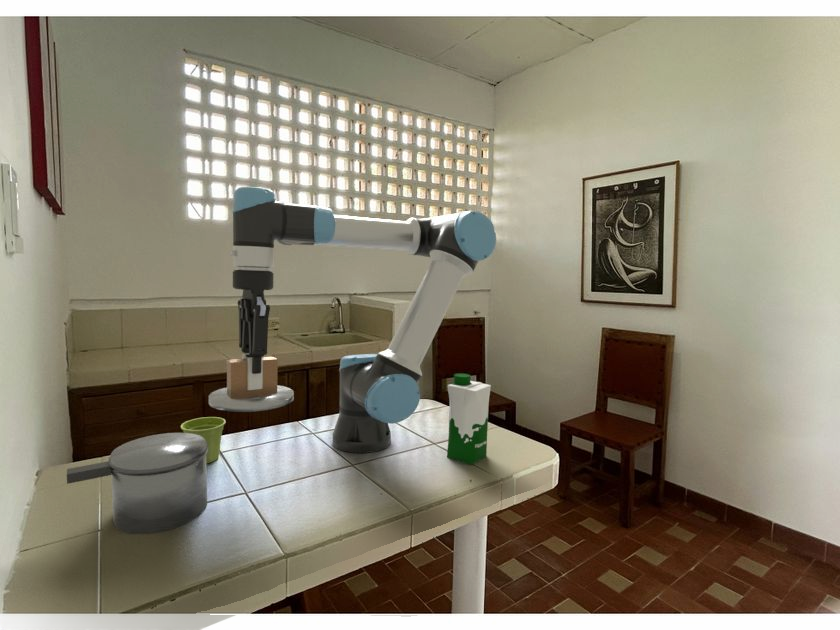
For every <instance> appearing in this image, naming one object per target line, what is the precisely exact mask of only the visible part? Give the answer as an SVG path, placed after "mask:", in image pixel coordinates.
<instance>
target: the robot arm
mask: <svg viewBox="0 0 840 630" xmlns="http://www.w3.org/2000/svg"><path fill="white" fill-rule="evenodd" d="M275 195H276V194H275V193H274V191H273V190H271V189H269V188H263V187H257V186H240V187H238V188H237V189H235V190H234V194H233V209H232V241H233V242H232V244H233V245H232V250H231V251H230V252H229V253H230V256H232V265H233V267H236V269H233V271H232V288H234V289H236V290H241V291H242V295H241V296H242V297H241V298H240V299H238V300H237V306H238V307H237V309H238V342H239V343H238V344H239V345H238V347H239V349H241V353H242V357H241V359H246V358H248V370H247V390H256V389H262V381H263V357H265V356H267V355H268V338H269V337H268V336H269V334H268V333H269V316H270V311H271V306H270V305H269V304H267V300H266V299H265V291H271V290H273V289H274V272H273V271H272V269H273V268H275V244H274V243H275V241H276V242H277V243H279V244H280V245H283V246H293V245H297V246H318V247H333V248H334V247H335V248H336V247H337V248H354V249H368V250H369V249H373V250H385V251H388V250H390V251H404V252H405V253H406V254H407V255H408V256H419V257H425V258H426V257H427V258H430V260H431V263H430V265H429V266H428V268H427V270H426V272H425V275H424V276H423V278H422V280H421V282H420V284H419V286H418V288H417V290H416V292H415V294H414V296H413V297H412V299H411V302H410V304H409V306H408V308H407V309H406V312H405V314H404V316H403V317H402V320H401V321H400V323H399V325H398V328H397V329H396V331H395V333H394V335H393V337H392V339H391V341H390V344H389V345H388V347H387V348H386V350H385V349H384V350H383V351H382V350H381V351H379V352H378V353H366V354H364V353H363V354H362V353H361V354H350V355H345V356H343V357H342V358H341V359H340V362H339V369H338V371H339V413H338V417H337V420H336V424H335V426H334V429H333V432H332V439H331V440H332V442H331V443H332V446H333V447H335V448H336V449H337V450H340V451H343V452H348V453H353V454H354V453H355V454H356V453H358V454H360V453H361V454H362V453H373V452H377V451H381V450H384V449H385V448H387V447H389V445H390V444H391V442H392V432H391V430H390V426H389V425H390V424H398V423H400V422H403V421H406V420H408V418H410V417H411V416H412V415H413V414H414V412H415V411H416V410H417V408H418V406H419V404H420V401H421V393H420V386H419V383H420V382H421V378H422V377H423V372H422V370H421V364H422V362H423V360H424V358H425V356H426V354H427V352H428V350H429V348H430V346H431V344H432V342H433V341H434V340H433V339H434V338H435V336H436V333H437V332H438V330H439V328H440V326H441V324H442V322H443V319H444V318H445V315H446V313H447V312H448V310H449V308H450V306H451V303H452V302H453V299H454V297H455V295H456V293H457V291H458V289H459V287H460V286H461V283H462V281H463V280H464V278H465V277H469V276H472V275H473V273H474V271H475V269H476V267H477V265H478V263H479V261H484V260H485V259H488V258H490V256H491V255H492V254H493V252H494V250H495V248H496V244H497V232H496V231H495V226H494V224H493V221H491V219H490V218H489V217H488V216H487V215H486V214H484V213H483V212H480V211H478V210H472V211H471V210H463V211H461V212H456V213H449V214H443V215H437V216H432V217H424V218H422V217H421V218H416V217H410V218H408V219H407V220H395V219H394V220H393V219H385V218H371V217H360V216H350V215H340V214H339V215H338V214H335V212H333V210H332V209H331V208H329V207H324V206H319V205H311V204H310V205H309V204H299V203H298V204H297V203H288V202H282V201H277V200H276V197H275Z"/></svg>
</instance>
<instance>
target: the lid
mask: <svg viewBox="0 0 840 630" xmlns="http://www.w3.org/2000/svg"><path fill="white" fill-rule="evenodd" d="M278 363H279V359H278V358H276V357H274V356H263V381H262V389H256V390H247V370H248V358H246V359H242V358H235V359H227V360H226V387H223V388H219V389H217V390H214V391H212V392H210V394H209V395H208V405H209V406H210V407H211V408H213V409H216V410H219V411H225V412H234V413H250V412H251V413H252V412H262V411H269V410H274V409H278V408H281V407H285V406H287V405H289V404H291V403H292V402H293V401H294V399H295V398H294V397H295V396H294V395H295V393H294V392H295V391H294V390H293V389H291V387H287V386H284V385H280V384H279V385H278V373H279V372H278V371H279V370H278V367H279V366H278V365H279V364H278Z"/></svg>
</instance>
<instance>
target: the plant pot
mask: <svg viewBox="0 0 840 630" xmlns="http://www.w3.org/2000/svg"><path fill="white" fill-rule="evenodd" d="M226 423H227V422H226V419H225V418H222V417H217V416H207V417H198V418H193V419H190V420H186V421H184V422H183V423H181V425H180V429H181V430H182V433H191V434H196V435H199V436H202V437H203V438H204V439H205V440H206V443H207V444H208V452H207V454H206V464H210V463H213V462H215V461H216V460H218V459H219V457H220V451H221V442H222V441H221V440H222V434H223V430H224V426H225V425H226Z"/></svg>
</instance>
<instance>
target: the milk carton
mask: <svg viewBox="0 0 840 630" xmlns="http://www.w3.org/2000/svg"><path fill="white" fill-rule="evenodd" d="M471 376H472V375H470V374H468V373H461V372H459V373H454V374H453V382H452V383H450V384H447V392H448V398H449V411H448V412H449V416H448V418H449V419H448V438H447V439H448V440H447V451H446V457H447V458H448V459H451V460H456V461H459V462H461V463H465V464H467V465H471V466H472V465H474V464H476V463H477V462H479V461H481V460H482V459H484V458H485V457H487V451H488V449H487V448H488V447H487V446H488V428H489V427H488V424H489V402H490V395H491V388H492V385H491V384H487V383H483V382H481V381H474V380H471Z"/></svg>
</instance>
